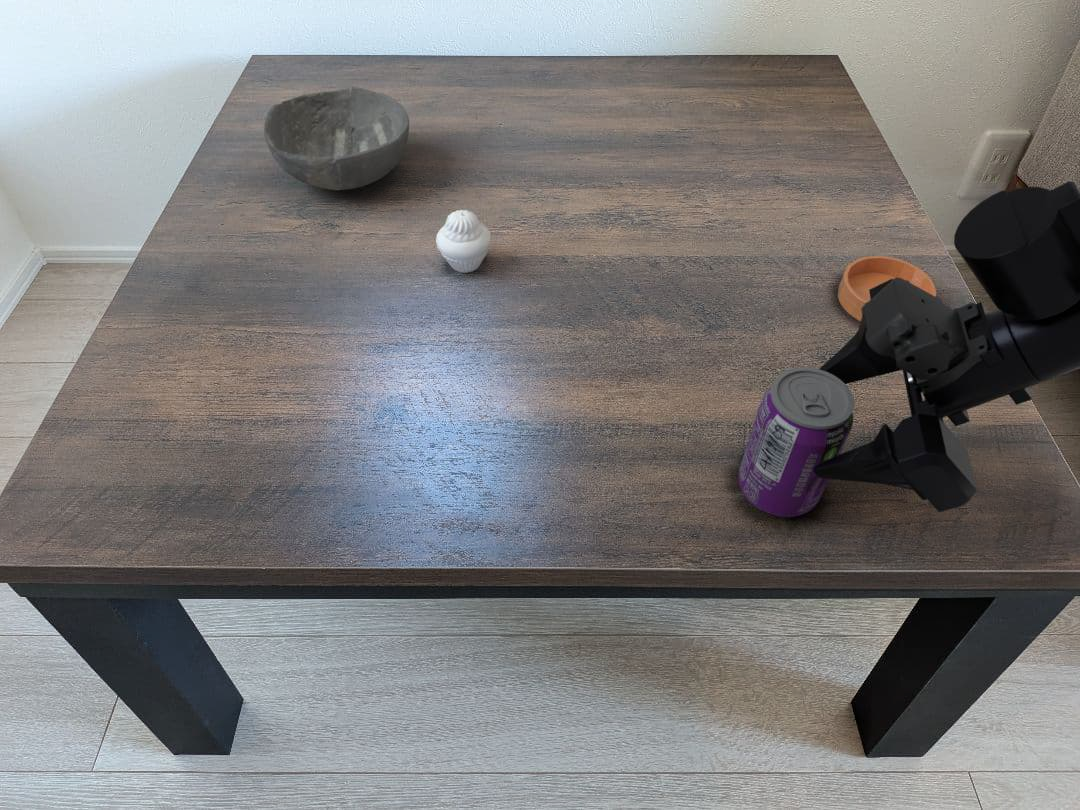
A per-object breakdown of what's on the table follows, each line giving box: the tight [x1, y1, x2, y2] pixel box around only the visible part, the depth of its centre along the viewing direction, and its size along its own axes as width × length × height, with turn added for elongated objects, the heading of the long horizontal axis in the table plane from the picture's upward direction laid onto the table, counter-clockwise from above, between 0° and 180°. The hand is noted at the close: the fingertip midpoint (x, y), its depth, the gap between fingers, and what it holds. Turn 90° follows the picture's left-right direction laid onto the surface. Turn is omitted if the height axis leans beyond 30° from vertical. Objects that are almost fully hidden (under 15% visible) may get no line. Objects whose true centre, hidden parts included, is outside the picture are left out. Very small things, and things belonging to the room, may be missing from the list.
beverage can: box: [737, 366, 855, 518], centre depth 64 cm, size 7×7×12 cm
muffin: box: [435, 209, 492, 274], centre depth 87 cm, size 6×6×7 cm
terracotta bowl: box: [837, 255, 937, 322], centre depth 85 cm, size 9×9×2 cm
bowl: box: [263, 86, 410, 191], centre depth 99 cm, size 18×18×8 cm
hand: (812, 427), depth 62 cm, fingers open, 9 cm apart
